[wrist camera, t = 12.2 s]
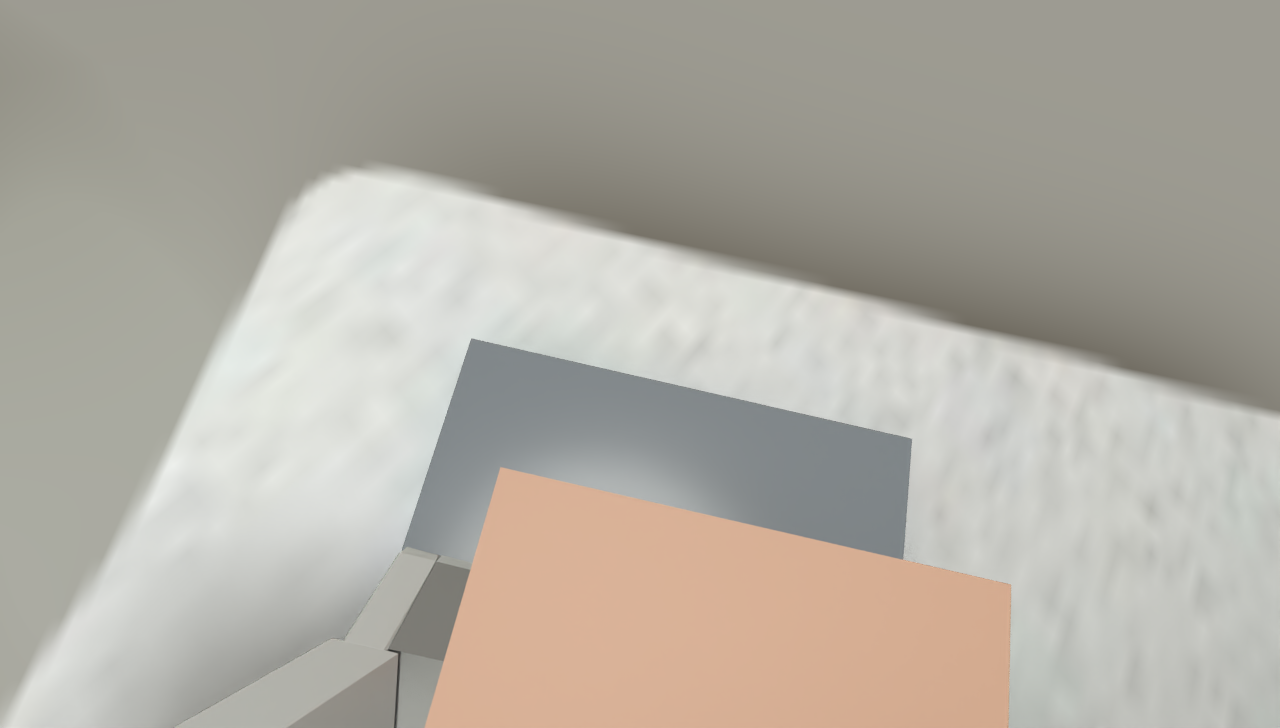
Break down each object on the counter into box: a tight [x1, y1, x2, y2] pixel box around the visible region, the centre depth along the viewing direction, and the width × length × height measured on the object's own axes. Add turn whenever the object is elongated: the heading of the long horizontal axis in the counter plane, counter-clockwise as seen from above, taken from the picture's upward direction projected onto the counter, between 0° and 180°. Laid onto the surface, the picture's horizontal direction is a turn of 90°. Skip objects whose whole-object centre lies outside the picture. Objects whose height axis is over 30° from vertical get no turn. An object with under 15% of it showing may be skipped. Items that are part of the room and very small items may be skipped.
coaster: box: [401, 339, 912, 563], centre depth 16 cm, size 12×12×1 cm
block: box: [424, 467, 1011, 728], centre depth 9 cm, size 5×3×8 cm, turn 78°
